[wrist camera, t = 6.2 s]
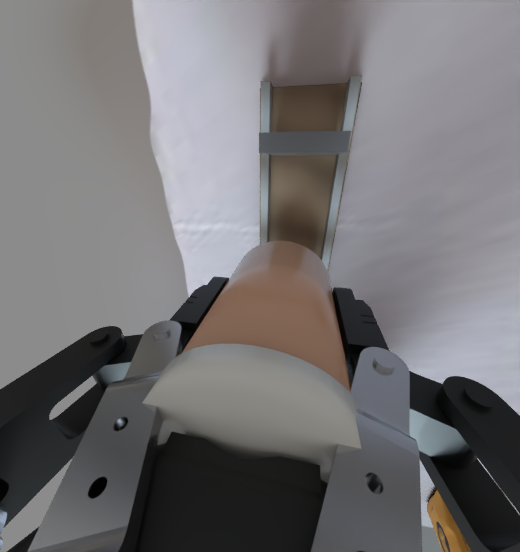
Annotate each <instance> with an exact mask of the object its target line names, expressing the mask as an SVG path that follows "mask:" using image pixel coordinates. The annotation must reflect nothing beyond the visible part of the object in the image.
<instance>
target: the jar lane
mask: <svg viewBox="0 0 520 552" xmlns="http://www.w3.org/2000/svg"><path fill="white" fill-rule="evenodd" d="M361 78H362V75H359V76H351V78H350V79H349V81H348V83H343V84H325V85H308V86H290V87H273V86H272V84H271V82H270V81H263V82H261V88H260V133H264V132H310V131H351V134H350V140H349V146H348V151H347V153H342V154H338V155H310V156H273V155H268V154H263V153H260V245H261V244H263V243H267V242H271V241H290V242H294V243H297V244H300V245H303V246H305V247H306V248H308V249H310V250H311V251H313V252H314V253H315V254H316V255H317V256H318V257H319V258H320V259H321V260H322V262H323V263H324V265H325V267H326V269H327V271H328V269H329V264H330V258H331V253H332V247H333V241H334V236H335V230H336V225H337V219H338V213H339V208H340V202H341V197H342V191H343V185H344V180H345V174H346V169H347V163H348V158H349V152H350V146H351V141H352V135H353V130H354V124H355V118H356V113H357V107H358V102H359V96H360V91H361V85H362V82H361Z"/></svg>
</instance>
